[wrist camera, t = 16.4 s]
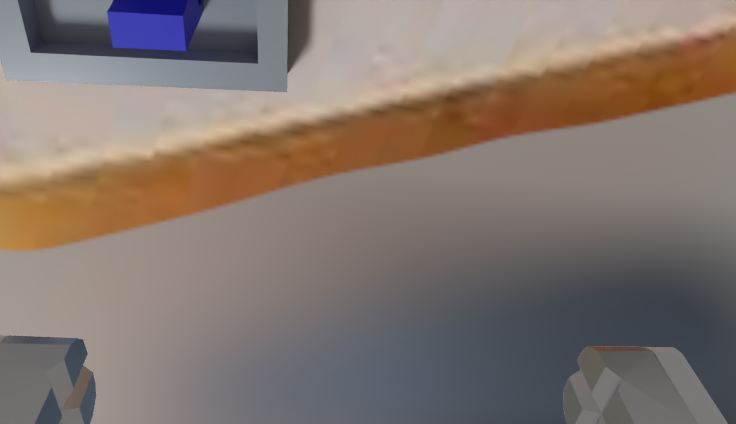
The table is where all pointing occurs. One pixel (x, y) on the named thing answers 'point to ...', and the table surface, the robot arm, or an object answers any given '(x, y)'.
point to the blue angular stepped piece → (154, 23)
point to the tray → (146, 66)
